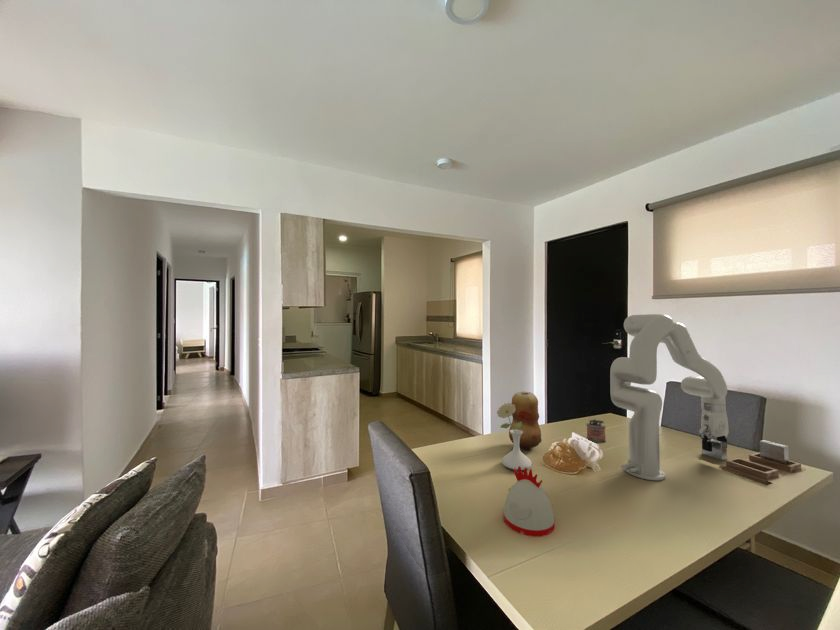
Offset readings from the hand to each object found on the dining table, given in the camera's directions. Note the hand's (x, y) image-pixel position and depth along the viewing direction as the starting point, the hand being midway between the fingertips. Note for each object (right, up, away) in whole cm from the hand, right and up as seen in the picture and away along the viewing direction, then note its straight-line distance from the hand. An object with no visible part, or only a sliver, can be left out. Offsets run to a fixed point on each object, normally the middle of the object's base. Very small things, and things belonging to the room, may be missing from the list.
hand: (714, 448), depth 136 cm
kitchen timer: (-90, -4, -41) cm, 99 cm away
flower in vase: (-84, -5, -6) cm, 84 cm away
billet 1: (0, -5, 0) cm, 5 cm away
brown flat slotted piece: (+9, -4, -11) cm, 15 cm away
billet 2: (+16, -3, -8) cm, 18 cm away
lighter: (-37, -5, +23) cm, 43 cm away
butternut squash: (-74, -5, +13) cm, 75 cm away
